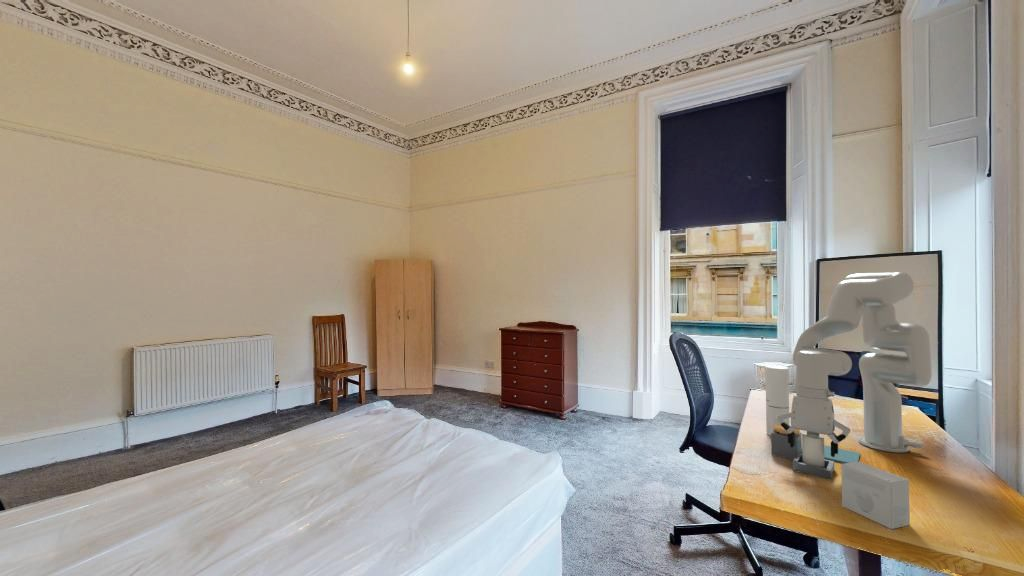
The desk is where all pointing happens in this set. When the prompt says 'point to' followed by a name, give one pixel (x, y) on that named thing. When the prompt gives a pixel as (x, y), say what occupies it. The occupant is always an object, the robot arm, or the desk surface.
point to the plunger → (782, 430)
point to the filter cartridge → (813, 449)
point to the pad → (841, 455)
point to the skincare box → (876, 494)
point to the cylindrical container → (776, 395)
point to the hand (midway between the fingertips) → (812, 450)
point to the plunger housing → (785, 445)
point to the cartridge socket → (813, 468)
